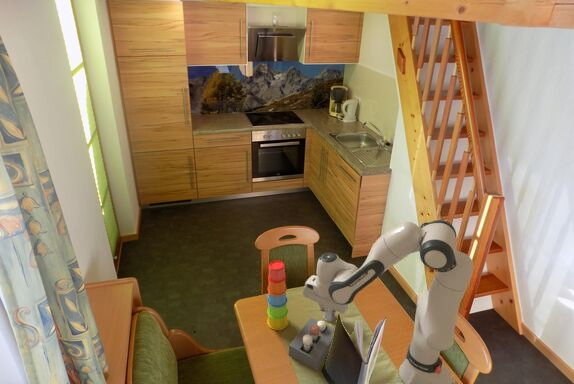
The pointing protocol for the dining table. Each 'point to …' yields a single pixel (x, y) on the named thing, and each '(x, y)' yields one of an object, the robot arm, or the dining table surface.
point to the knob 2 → (321, 326)
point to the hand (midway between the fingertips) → (324, 310)
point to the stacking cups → (277, 296)
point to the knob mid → (314, 332)
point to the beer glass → (330, 315)
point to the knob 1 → (307, 342)
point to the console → (312, 346)
